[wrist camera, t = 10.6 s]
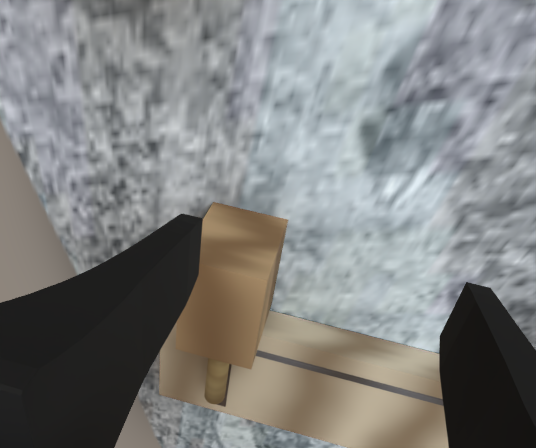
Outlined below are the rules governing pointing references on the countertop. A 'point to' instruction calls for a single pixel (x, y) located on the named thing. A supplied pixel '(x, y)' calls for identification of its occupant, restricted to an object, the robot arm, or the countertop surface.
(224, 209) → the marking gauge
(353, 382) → the maple board
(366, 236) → the countertop surface
